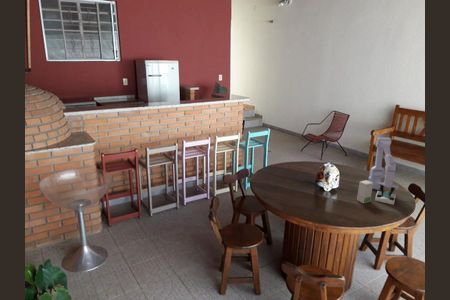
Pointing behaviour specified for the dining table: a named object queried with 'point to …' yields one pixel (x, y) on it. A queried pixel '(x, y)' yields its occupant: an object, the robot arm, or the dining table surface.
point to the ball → (386, 194)
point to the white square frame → (385, 199)
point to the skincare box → (364, 191)
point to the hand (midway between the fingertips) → (385, 195)
